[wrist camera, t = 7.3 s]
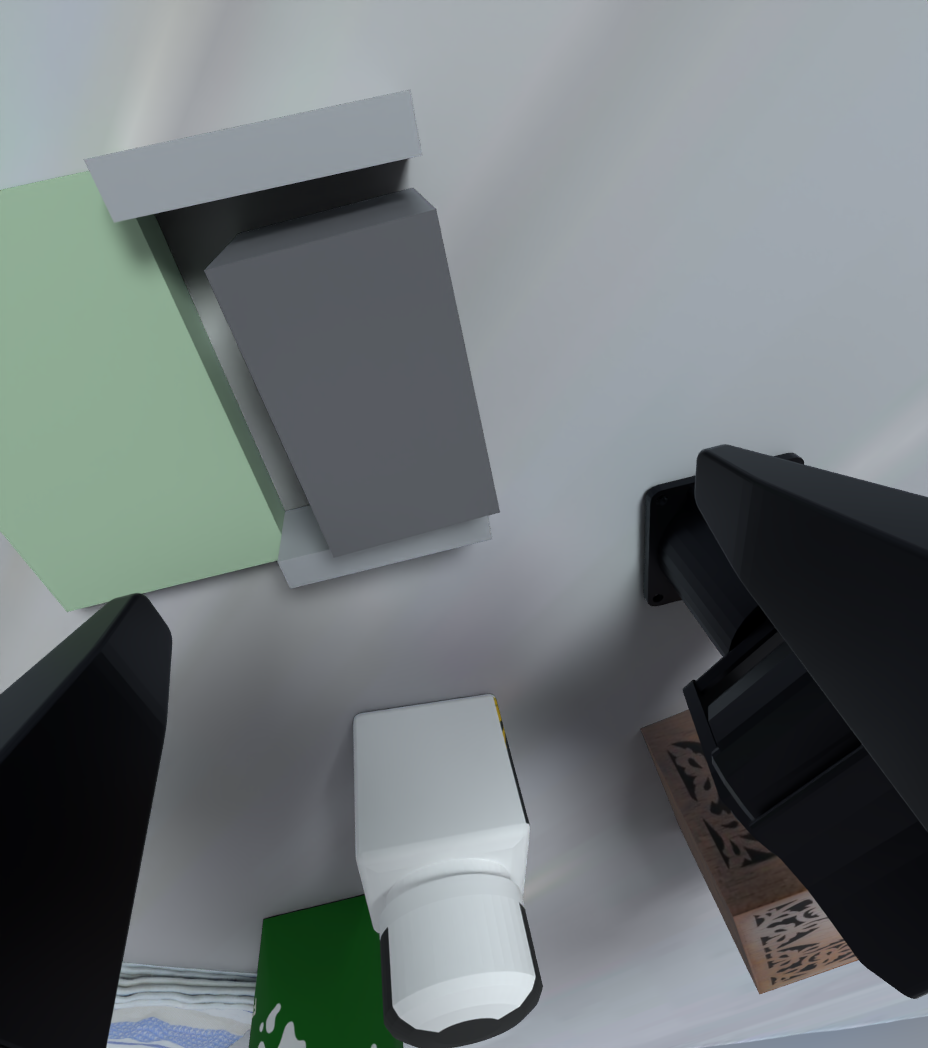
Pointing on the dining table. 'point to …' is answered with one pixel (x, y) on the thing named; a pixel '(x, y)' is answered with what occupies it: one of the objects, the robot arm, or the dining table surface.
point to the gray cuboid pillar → (362, 366)
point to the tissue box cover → (743, 870)
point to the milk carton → (320, 980)
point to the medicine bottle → (445, 870)
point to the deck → (156, 370)
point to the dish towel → (180, 1007)
